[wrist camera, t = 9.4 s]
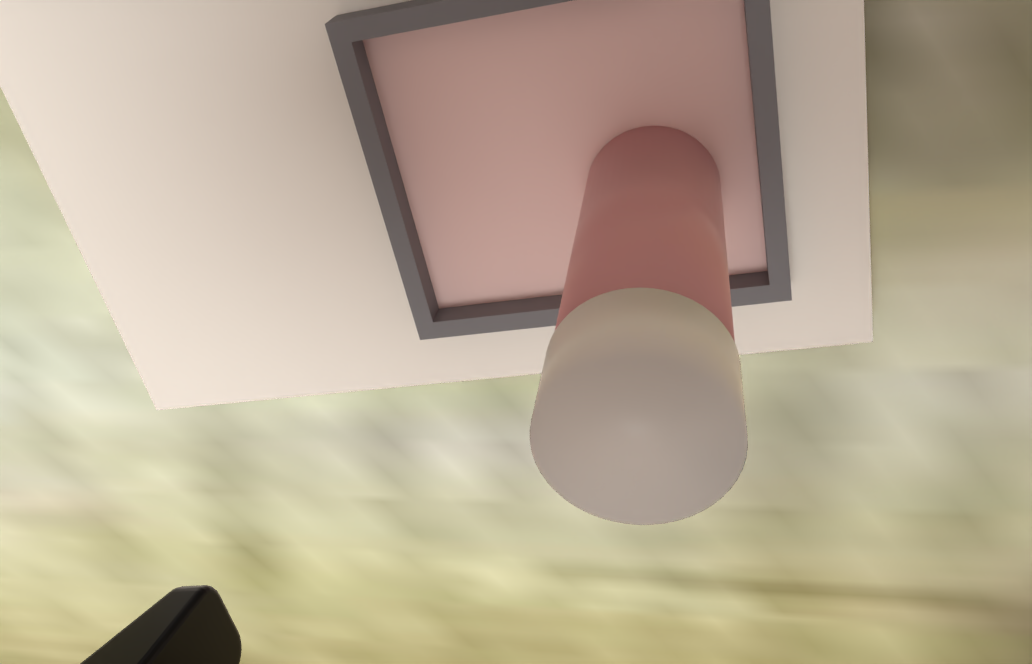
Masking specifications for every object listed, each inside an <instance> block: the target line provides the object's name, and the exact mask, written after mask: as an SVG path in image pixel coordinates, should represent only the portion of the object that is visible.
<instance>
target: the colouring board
mask: <svg viewBox="0 0 1032 664" xmlns="http://www.w3.org/2000/svg"><path fill="white" fill-rule="evenodd" d="M0 87H1V89H2V91H3V93H4V95H5V97H6V99H7V101H8V103H9V105H10V107H11V109H12V111H13V114H14V116H15V118H16V120H17V122H18V124H19V126H20V128H21V130H22V132H23V134H24V136H25V138H26V140H27V143H28V145H29V147H30V149H31V151H32V153H33V155H34V157H35V159H36V161H37V163H38V165H39V167H40V169H41V172H42V174H43V176H44V178H45V180H46V182H47V184H48V186H49V188H50V190H51V192H52V194H53V196H54V198H55V201H56V203H57V205H58V207H59V209H60V211H61V213H62V215H63V217H64V219H65V221H66V223H67V225H68V227H69V229H70V232H71V234H72V236H73V238H74V240H75V242H76V244H77V246H78V248H79V250H80V252H81V254H82V256H83V258H84V261H85V263H86V265H87V267H88V269H89V271H90V273H91V275H92V277H93V279H94V281H95V283H96V285H97V287H98V290H99V292H100V294H101V296H102V298H103V300H104V302H105V304H106V306H107V308H108V310H109V312H110V314H111V316H112V319H113V321H114V323H115V325H116V327H117V329H118V331H119V333H120V335H121V337H122V339H123V341H124V343H125V345H126V347H127V350H128V352H129V354H130V356H131V358H132V360H133V362H134V364H135V366H136V368H137V370H138V372H139V374H140V376H141V379H142V381H143V383H144V385H145V387H146V389H147V391H148V393H149V395H150V397H151V399H152V401H153V403H154V405H155V408H156V410H163V409H174V408H184V407H195V406H205V405H216V404H226V403H237V402H247V401H258V400H268V399H279V398H289V397H300V396H311V395H321V394H332V393H342V392H353V391H363V390H374V389H384V388H395V387H405V386H416V385H426V384H437V383H447V382H458V381H468V380H479V379H490V378H500V377H511V376H521V375H532V374H542V370H543V365H544V361H545V356H546V352H547V348H548V345H549V342H550V339H551V337H552V335H553V333H554V331H555V327H556V322H557V318H558V313H559V308H560V304H561V299H562V294H563V290H564V285H565V281H566V276H567V271H568V267H569V262H570V257H571V253H572V248H573V243H574V239H575V234H576V230H577V225H578V220H579V216H580V211H581V206H582V202H583V197H584V193H585V188H586V183H587V179H588V174H589V171H590V168H591V165H592V163H593V161H594V159H595V158H596V156H597V155H598V153H599V152H600V151H601V150H602V148H603V147H604V146H605V145H606V144H607V143H609V142H610V141H611V140H612V139H614V138H615V137H617V136H618V135H620V134H622V133H624V132H626V131H629V130H632V129H634V128H639V127H643V126H665V127H671V128H674V129H678V130H680V131H683V132H685V133H687V134H689V135H691V136H692V137H694V138H695V139H697V140H698V141H699V142H700V143H701V144H702V145H703V146H704V147H705V148H706V149H707V150H708V151H709V153H710V154H711V156H712V157H713V159H714V161H715V163H716V165H717V168H718V171H719V176H720V182H721V194H722V205H723V216H724V227H725V238H726V250H727V261H728V272H729V283H730V294H731V306H732V317H733V328H734V339H735V345H736V347H737V350H738V353H739V355H742V354H753V353H763V352H774V351H784V350H795V349H805V348H816V347H826V346H837V345H848V344H858V343H869V342H873V319H872V282H871V245H870V208H869V171H868V133H867V96H866V59H865V22H864V0H0Z"/></svg>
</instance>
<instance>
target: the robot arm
mask: <svg viewBox="0 0 1032 664" xmlns="http://www.w3.org/2000/svg"><path fill="white" fill-rule="evenodd" d="M240 657H241V639H240V635H239V633H238V630H237V628H236V626H235V624H234V622H233V620H232V619H231V617H230V615H229V613H228V611H227V609H226V607H225V605H224V603H223V601H222V599H221V597H220V595H219V593H218V592H217V590H215V589H214V588H213V587H211V586H207V585H202V586H182V587H178V588H176V589H173V590H172V591H171V592H169V593H168V594H167V595H166V596H164V597H163V598H162V599H161V600H159V601H158V602H157V603H156V604H154V605H153V606H152V607H151V608H149V609H148V610H147V611H146V612H144V613H143V614H142V615H141V616H139V617H138V618H137V619H136V620H134V621H133V622H132V623H131V624H129V625H128V626H127V627H126V628H124V629H123V630H122V631H121V632H119V633H118V634H117V635H116V636H114V637H113V638H112V639H111V640H109V641H108V642H107V643H106V644H104V645H103V646H102V647H101V648H99V649H98V650H97V651H96V652H94V653H93V654H92V655H91V656H89V657H88V658H87V659H86V660H84V661H83V662H82V663H81V664H239V662H240Z"/></svg>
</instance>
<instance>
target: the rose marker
mask: <svg viewBox="0 0 1032 664" xmlns="http://www.w3.org/2000/svg"><path fill="white" fill-rule="evenodd" d="M530 445H531V450H532V454H533V457H534V460H535V463H536V465H537V467H538V469H539V471H540V473H541V474H542V475H543V477H544V478H545V480H546V481H547V483H548V484H549V485H550V486H551V487H552V488H553V489H554V490H555V491H556V492H557V493H558V494H559V495H560V496H562V497H563V498H564V499H565V500H567V501H568V502H570V503H571V504H573V505H574V506H576V507H578V508H579V509H581V510H583V511H585V512H587V513H590V514H592V515H595V516H597V517H600V518H603V519H607V520H610V521H614V522H620V523H625V524H636V525H653V524H662V523H668V522H673V521H678V520H681V519H684V518H687V517H690V516H693V515H695V514H697V513H699V512H701V511H703V510H705V509H707V508H708V507H710V506H712V505H713V504H714V503H716V502H717V501H718V500H720V499H721V498H722V497H723V496H724V495H725V494H726V493H727V492H728V491H729V490H730V489H731V488H732V486H733V485H734V483H735V482H736V481H737V479H738V477H739V475H740V473H741V471H742V469H743V466H744V463H745V460H746V455H747V448H748V441H747V427H746V416H745V406H744V395H743V385H742V374H741V364H740V358H739V353H738V350H737V347H736V345H735V339H734V328H733V317H732V306H731V294H730V283H729V272H728V261H727V250H726V238H725V227H724V216H723V205H722V194H721V182H720V176H719V171H718V168H717V165H716V163H715V161H714V159H713V157H712V156H711V154H710V153H709V151H708V150H707V149H706V148H705V147H704V146H703V145H702V144H701V143H700V142H699V141H698V140H697V139H695V138H694V137H692V136H691V135H689V134H687V133H685V132H683V131H680V130H678V129H674V128H671V127H665V126H643V127H639V128H634V129H632V130H629V131H626V132H624V133H622V134H620V135H618V136H617V137H615V138H614V139H612V140H611V141H610V142H609V143H607V144H606V145H605V146H604V147H603V148H602V150H601V151H600V152H599V153H598V155H597V156H596V158H595V159H594V161H593V163H592V165H591V168H590V171H589V174H588V179H587V183H586V188H585V193H584V197H583V202H582V206H581V211H580V216H579V220H578V225H577V230H576V234H575V239H574V243H573V248H572V253H571V257H570V262H569V267H568V271H567V276H566V281H565V285H564V290H563V294H562V299H561V304H560V308H559V313H558V318H557V322H556V327H555V331H554V333H553V335H552V337H551V339H550V342H549V345H548V348H547V352H546V356H545V361H544V365H543V370H542V374H541V379H540V383H539V388H538V392H537V397H536V401H535V406H534V410H533V415H532V419H531V426H530Z"/></svg>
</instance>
